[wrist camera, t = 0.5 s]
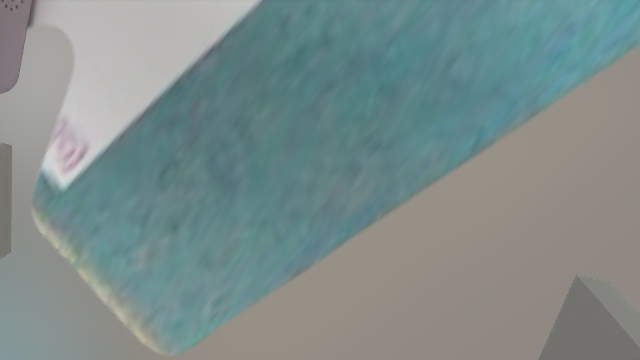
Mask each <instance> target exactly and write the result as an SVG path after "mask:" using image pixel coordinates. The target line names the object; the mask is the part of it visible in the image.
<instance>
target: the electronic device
mask: <svg viewBox="0 0 640 360" xmlns="http://www.w3.org/2000/svg"><path fill="white" fill-rule="evenodd" d="M31 4H32V0H0V94H1V93H4V92H7V91H9V90H10V89H12V88H13V87H14V85H15V84H16V82H17V80H18V77H19V71H20V66H21V60H22V54H23V49H24V43H25V37H26V32H27V26H28V21H29V15H30V9H31Z"/></svg>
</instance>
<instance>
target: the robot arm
mask: <svg viewBox="0 0 640 360" xmlns="http://www.w3.org/2000/svg"><path fill="white" fill-rule="evenodd" d="M11 186H12V145H8V144H4V143H0V259H1V258H3V257H4V256H6V255H7V254H9V253H10V252H11V194H12V192H11V190H12V187H11ZM538 360H640V313H639V312H638V311H637V310H636V309H635V308H634V307H633V306H632V305H631V304H630V303H629V302H628V301H627V300H626V299H625V298H624V297H623V296H622V295H621V294H620V293H619V292H618V291H617V290H616V289H615V287H614V286H613V285H612V284H610V282H607V281H603V280H599V279H594V278H590V277H586V276H581V275H576V276H575V278H574V280H573V283H572V285H571V287H570V289H569V292H568V294H567V296H566V298H565V301H564V303H563V305H562V308H561V310H560V312H559V314H558V317H557V319H556V321H555V323H554V326H553V328H552V330H551V332H550V335H549V337H548V339H547V341H546V344H545V346H544V348H543V350H542V353H541V355H540V357H539V359H538Z"/></svg>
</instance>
